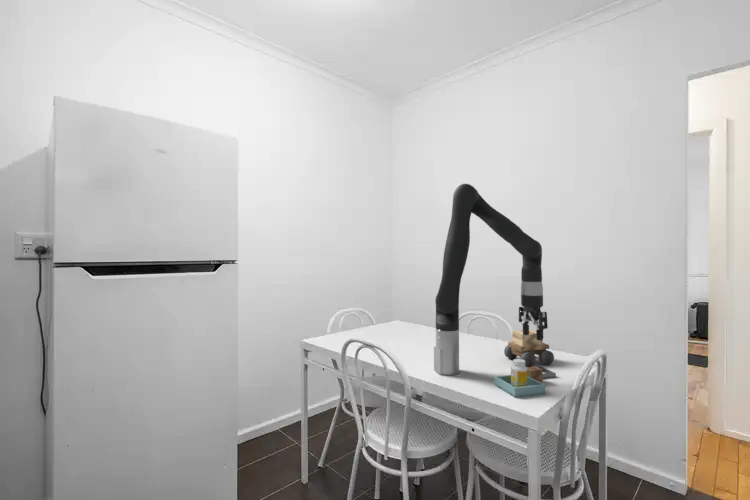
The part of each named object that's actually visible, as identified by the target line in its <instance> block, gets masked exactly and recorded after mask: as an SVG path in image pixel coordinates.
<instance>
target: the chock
mask: <svg viewBox="0 0 750 500" xmlns="http://www.w3.org/2000/svg"><path fill="white" fill-rule="evenodd" d="M526 367H527V366H526ZM538 367H539V366H535V365H533V366H532V367H527V376H529V377H531V378H533V379H535V380H537V381H539V382H541V383H543V382H544V381H543V374H544V372H542V369H540V368H538ZM543 384H544V383H543Z"/></svg>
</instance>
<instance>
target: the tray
mask: <svg viewBox="0 0 750 500" xmlns="http://www.w3.org/2000/svg"><path fill="white" fill-rule="evenodd" d="M494 386H496V387H497V388H499V389H500V390H502V391H504V392H505V393H507V394H508V395H510V396H512V397H513V398H521V397H531V396H538V395H546V391H547V389H546V388H547V386H546V384H545V383H541V382H539V381H537V380H535V379H533V378H531V377H529V376H527V386H523V387H514V386H512V385H511V374H508V375H506V374H505V375H498V376H497V375H496V376H494Z"/></svg>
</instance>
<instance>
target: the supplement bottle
mask: <svg viewBox="0 0 750 500" xmlns="http://www.w3.org/2000/svg"><path fill="white" fill-rule="evenodd" d="M510 375H511V385H512V386H514V387H523V386H527V366H525V360H523V359H520V358H515V359H512V365H511V367H510Z"/></svg>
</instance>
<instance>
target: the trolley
mask: <svg viewBox="0 0 750 500" xmlns="http://www.w3.org/2000/svg"><path fill="white" fill-rule="evenodd" d="M511 333H512V341H509V342H507V345H505V348H504V351H503V353H504V356H505V357H506V358H508V359H510V360H513V359H517V357H518V358H519V359H523V360H525V365H524V366H526V367H534V366H535V364H536V361H537V357H536V356H538V360H539V362H540V363H541V364H543V365H544V366H550V365H552V363H554V360H555V355H554V352H552V351H550V350H549V349H550V344H547V343H544V342H543V340H544V339H543V340H537V339H536V330H533V329H529V335H523V330H513V331H512V332H511Z"/></svg>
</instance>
